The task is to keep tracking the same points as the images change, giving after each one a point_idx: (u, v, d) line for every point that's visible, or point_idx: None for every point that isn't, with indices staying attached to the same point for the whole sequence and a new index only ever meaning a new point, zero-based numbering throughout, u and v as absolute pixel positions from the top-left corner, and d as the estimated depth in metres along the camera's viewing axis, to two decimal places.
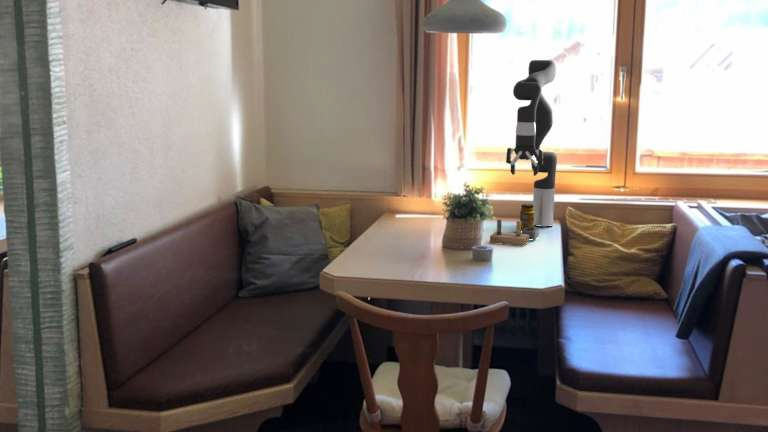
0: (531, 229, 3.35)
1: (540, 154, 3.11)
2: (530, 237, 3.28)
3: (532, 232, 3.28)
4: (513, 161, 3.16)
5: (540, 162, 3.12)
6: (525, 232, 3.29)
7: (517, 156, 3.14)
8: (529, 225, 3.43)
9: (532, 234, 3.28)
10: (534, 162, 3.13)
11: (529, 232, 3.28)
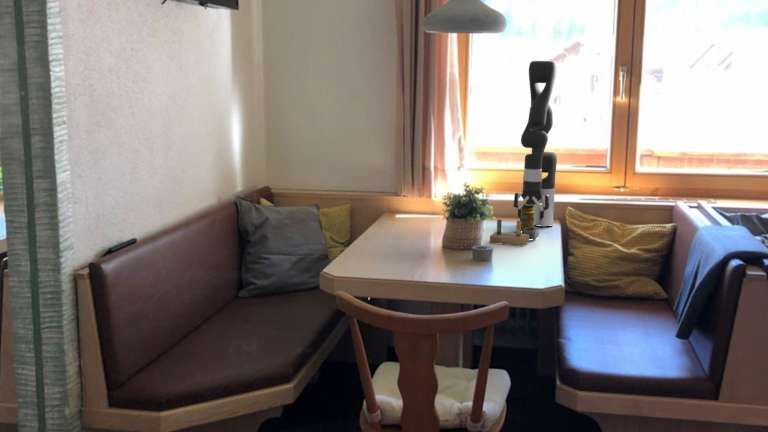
0: (531, 229, 3.35)
1: (546, 199, 3.26)
2: (530, 237, 3.28)
3: (532, 232, 3.28)
4: (520, 205, 3.30)
5: (546, 207, 3.26)
6: (525, 232, 3.29)
7: (524, 201, 3.29)
8: (529, 225, 3.43)
9: (532, 234, 3.28)
10: (540, 207, 3.27)
11: (529, 232, 3.28)
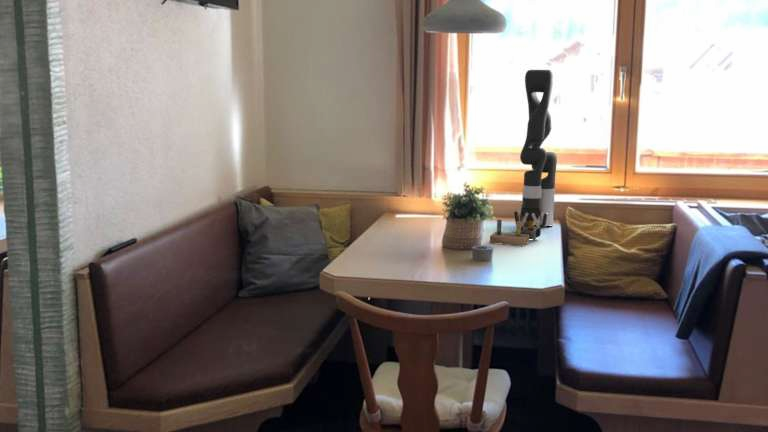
0: (531, 229, 3.35)
1: (544, 218, 3.28)
2: (530, 237, 3.28)
3: (532, 232, 3.28)
4: (522, 223, 3.31)
5: (542, 225, 3.28)
6: (525, 232, 3.29)
7: (524, 218, 3.30)
8: (529, 225, 3.43)
9: (532, 234, 3.28)
10: (537, 225, 3.29)
11: (529, 232, 3.28)
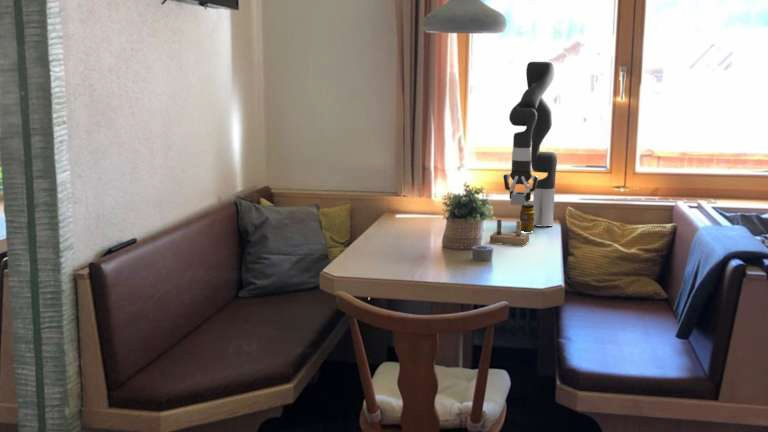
0: (521, 194, 3.23)
1: (535, 181, 3.16)
2: (520, 201, 3.16)
3: (522, 196, 3.16)
4: (512, 187, 3.20)
5: (533, 188, 3.16)
6: (514, 196, 3.17)
7: (514, 181, 3.18)
8: (529, 225, 3.43)
9: (522, 198, 3.16)
10: (527, 188, 3.17)
11: (519, 196, 3.16)
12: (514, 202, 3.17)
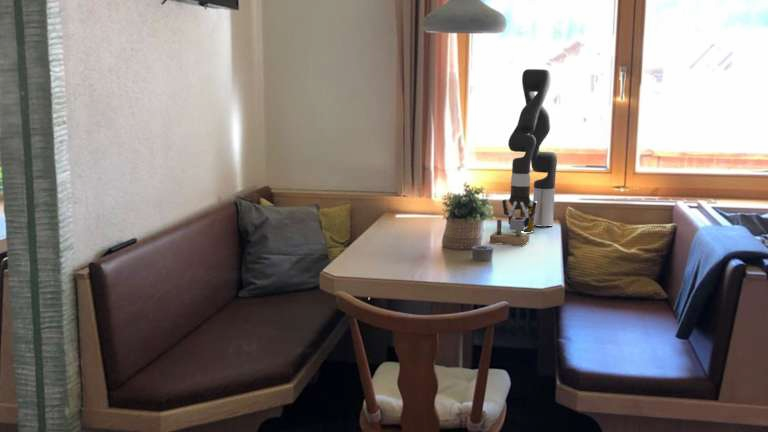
0: (520, 218, 3.24)
1: (533, 206, 3.17)
2: (519, 226, 3.18)
3: (521, 221, 3.17)
4: (511, 213, 3.21)
5: (531, 214, 3.18)
6: (513, 221, 3.19)
7: (513, 207, 3.20)
8: (529, 225, 3.43)
9: (521, 223, 3.18)
10: (526, 214, 3.19)
11: (518, 221, 3.18)
12: (513, 228, 3.19)
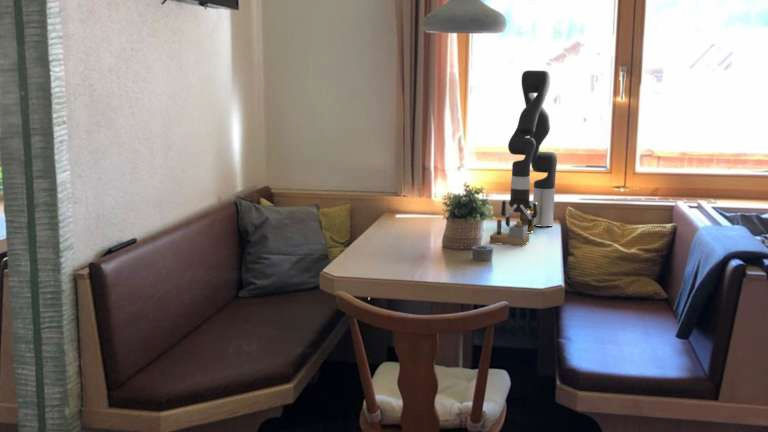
0: None
1: (534, 207, 3.17)
2: (518, 234, 3.19)
3: (520, 229, 3.18)
4: (508, 214, 3.22)
5: (534, 215, 3.18)
6: (513, 229, 3.19)
7: (512, 209, 3.20)
8: None
9: (520, 231, 3.18)
10: (528, 215, 3.19)
11: (517, 229, 3.19)
12: (513, 235, 3.20)
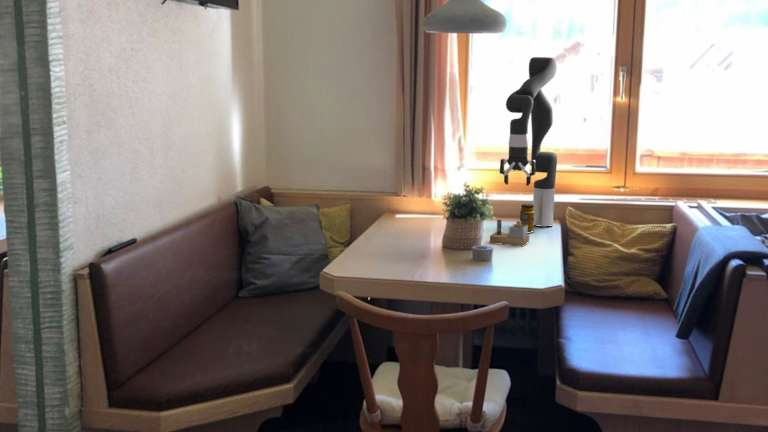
0: None
1: (532, 165, 3.21)
2: (518, 234, 3.19)
3: (520, 229, 3.18)
4: (506, 172, 3.25)
5: (532, 173, 3.21)
6: (513, 229, 3.19)
7: (510, 167, 3.24)
8: (529, 225, 3.43)
9: (520, 231, 3.18)
10: (527, 173, 3.22)
11: (517, 229, 3.19)
12: (513, 235, 3.20)
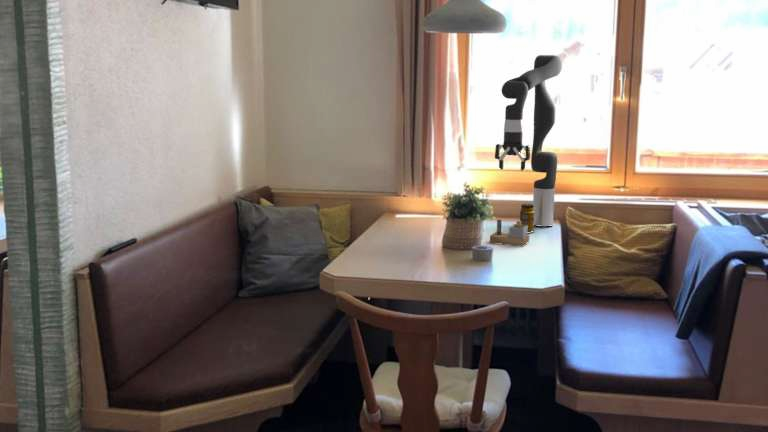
0: None
1: (527, 150, 3.27)
2: (518, 234, 3.19)
3: (520, 229, 3.18)
4: (501, 157, 3.31)
5: (527, 157, 3.27)
6: (513, 229, 3.19)
7: (505, 152, 3.30)
8: (529, 225, 3.43)
9: (520, 231, 3.18)
10: (521, 157, 3.28)
11: (517, 229, 3.19)
12: (513, 235, 3.20)
